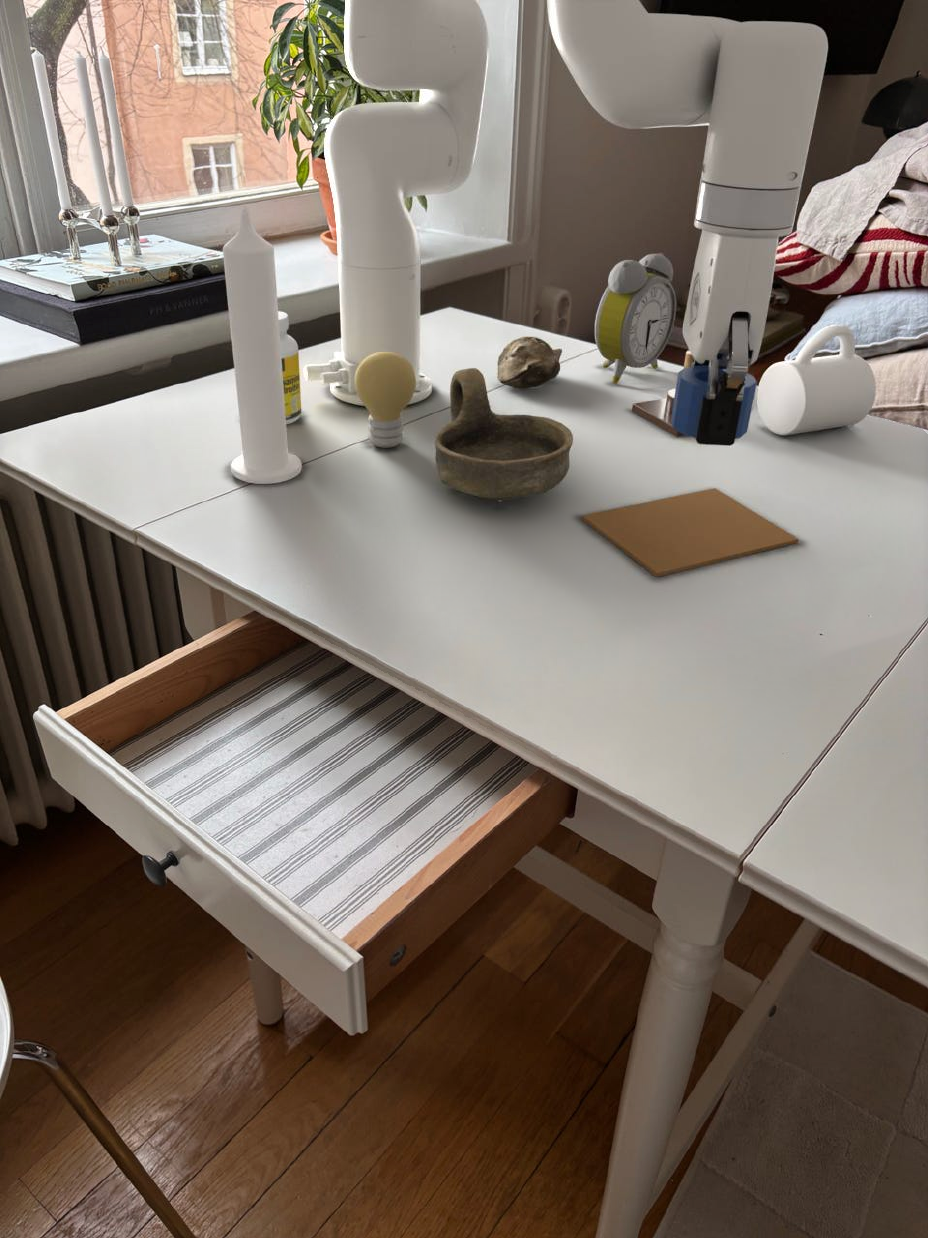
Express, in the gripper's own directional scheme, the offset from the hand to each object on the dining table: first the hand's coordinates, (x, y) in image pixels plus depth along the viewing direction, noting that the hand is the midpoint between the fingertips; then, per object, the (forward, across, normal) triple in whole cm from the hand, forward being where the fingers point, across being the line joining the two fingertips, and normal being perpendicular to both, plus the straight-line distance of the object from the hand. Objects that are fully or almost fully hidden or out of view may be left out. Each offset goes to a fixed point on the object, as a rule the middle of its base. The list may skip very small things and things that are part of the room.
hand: (707, 426), depth 84 cm
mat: (+10, 0, 0) cm, 10 cm away
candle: (+10, -8, -42) cm, 44 cm away
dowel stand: (+10, -30, +4) cm, 32 cm away
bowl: (+10, -8, -18) cm, 23 cm away
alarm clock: (+10, -46, -2) cm, 47 cm away
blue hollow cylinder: (0, 0, 0) cm, 0 cm away
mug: (+10, -29, +18) cm, 36 cm away
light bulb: (+10, -17, -31) cm, 37 cm away
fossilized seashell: (+10, -40, -15) cm, 44 cm away
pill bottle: (+10, -23, -44) cm, 51 cm away
